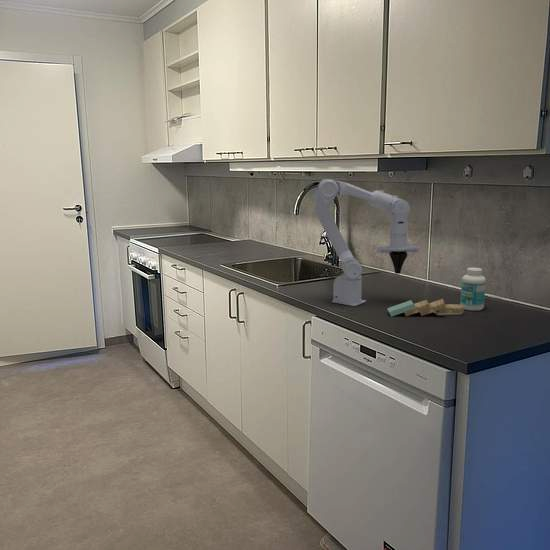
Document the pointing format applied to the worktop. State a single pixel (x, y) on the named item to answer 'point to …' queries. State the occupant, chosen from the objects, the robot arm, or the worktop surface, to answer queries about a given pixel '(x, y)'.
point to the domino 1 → (401, 308)
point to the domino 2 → (418, 307)
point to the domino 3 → (434, 307)
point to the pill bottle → (473, 290)
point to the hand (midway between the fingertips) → (397, 273)
